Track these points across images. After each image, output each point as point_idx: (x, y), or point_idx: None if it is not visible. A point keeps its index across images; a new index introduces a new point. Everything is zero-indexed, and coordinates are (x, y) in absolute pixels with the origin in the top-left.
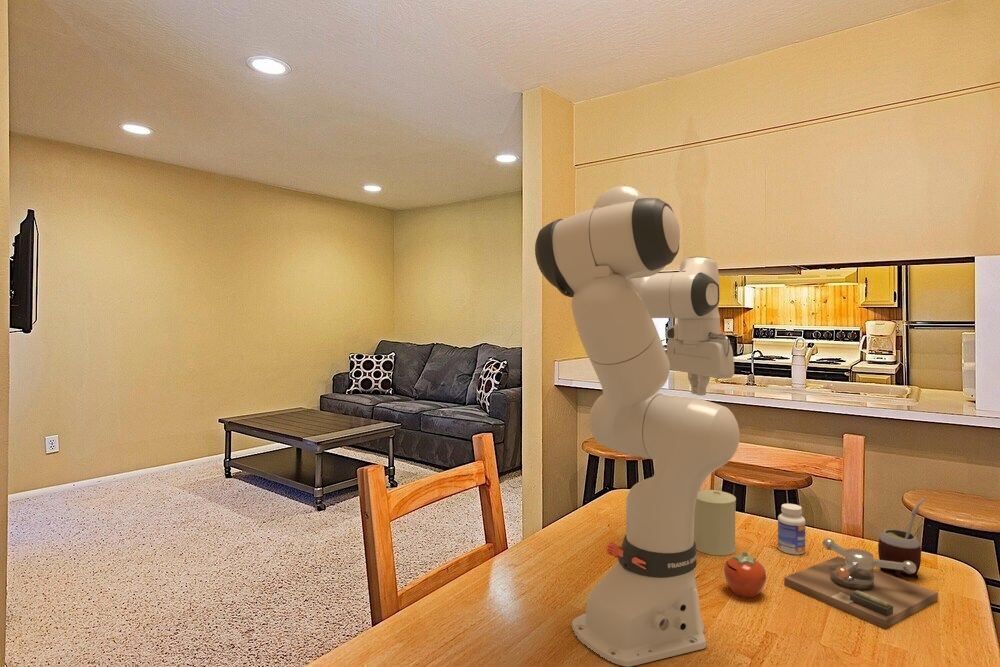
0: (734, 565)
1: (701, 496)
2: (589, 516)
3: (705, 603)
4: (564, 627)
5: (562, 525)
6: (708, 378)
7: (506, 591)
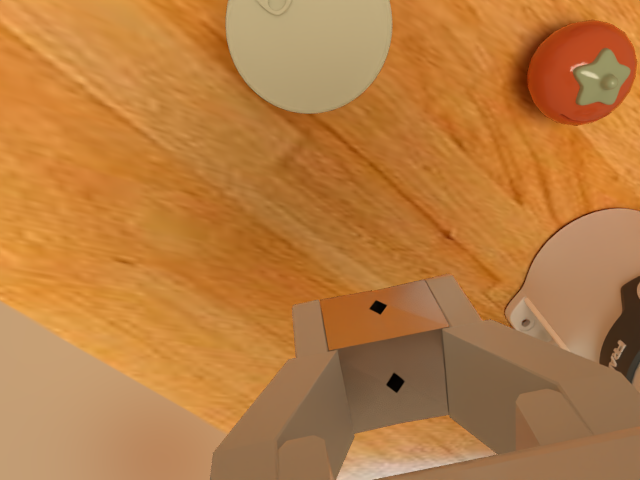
0: (599, 114)
1: (303, 81)
2: (56, 296)
3: (568, 173)
4: None
5: (130, 366)
6: (633, 409)
7: None
